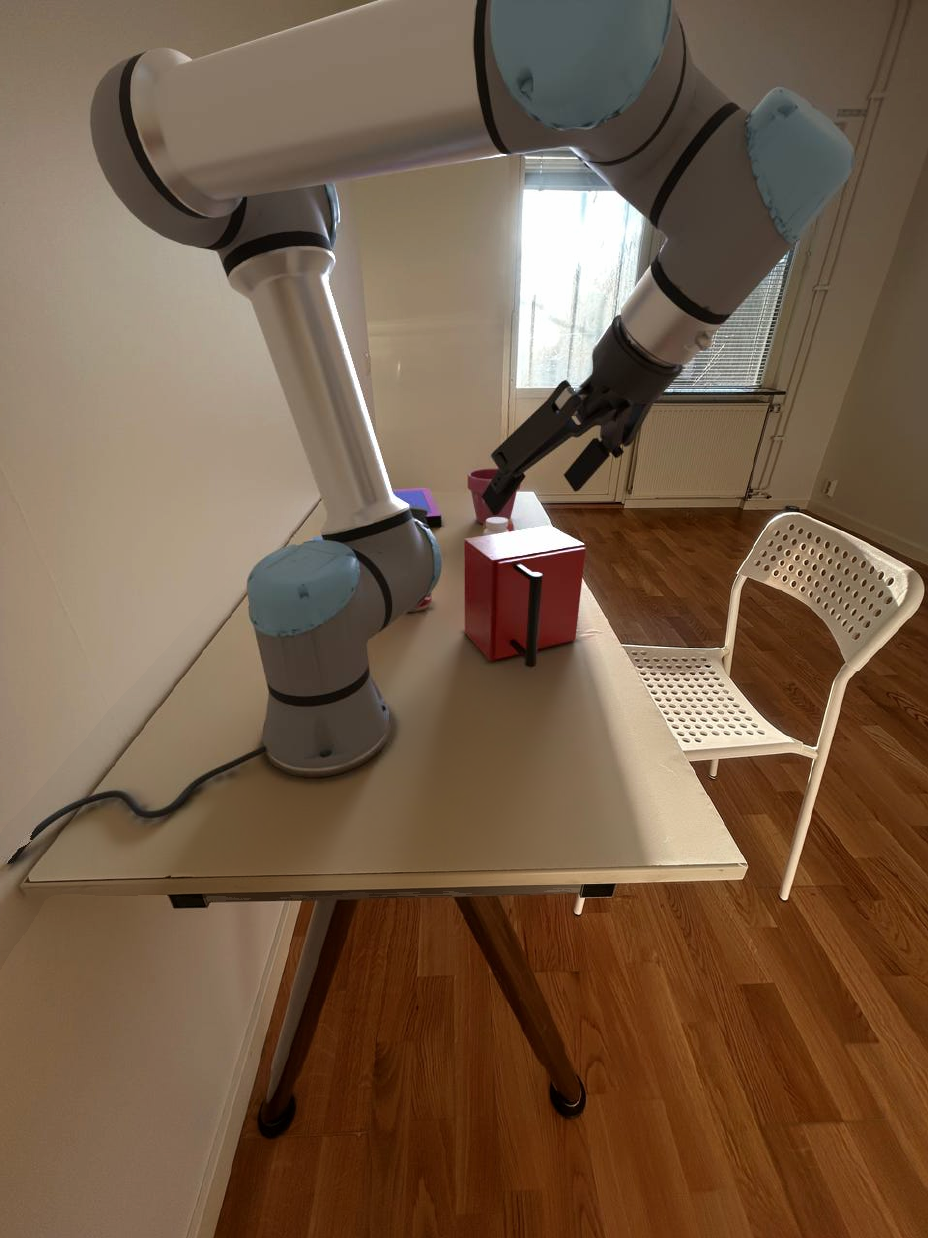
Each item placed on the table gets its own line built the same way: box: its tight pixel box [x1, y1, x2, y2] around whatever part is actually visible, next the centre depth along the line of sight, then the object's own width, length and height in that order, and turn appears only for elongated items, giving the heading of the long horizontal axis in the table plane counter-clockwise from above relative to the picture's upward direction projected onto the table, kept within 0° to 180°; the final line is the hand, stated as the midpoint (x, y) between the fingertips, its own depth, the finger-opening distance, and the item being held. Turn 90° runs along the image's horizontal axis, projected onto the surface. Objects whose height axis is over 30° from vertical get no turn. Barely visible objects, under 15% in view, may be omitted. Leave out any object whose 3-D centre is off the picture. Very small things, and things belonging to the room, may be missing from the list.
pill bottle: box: [482, 517, 509, 536], centre depth 111 cm, size 6×6×10 cm
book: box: [392, 487, 442, 528], centre depth 147 cm, size 21×3×30 cm
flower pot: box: [467, 467, 522, 525], centre depth 138 cm, size 14×14×13 cm
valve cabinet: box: [463, 525, 586, 662], centre depth 81 cm, size 10×15×17 cm, turn 113°
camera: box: [410, 506, 431, 531], centre depth 120 cm, size 13×10×10 cm
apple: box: [482, 514, 515, 533], centre depth 121 cm, size 7×7×8 cm
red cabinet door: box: [495, 547, 586, 668], centre depth 74 cm, size 7×14×16 cm, turn 113°
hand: (532, 493), depth 62 cm, fingers open, 13 cm apart
